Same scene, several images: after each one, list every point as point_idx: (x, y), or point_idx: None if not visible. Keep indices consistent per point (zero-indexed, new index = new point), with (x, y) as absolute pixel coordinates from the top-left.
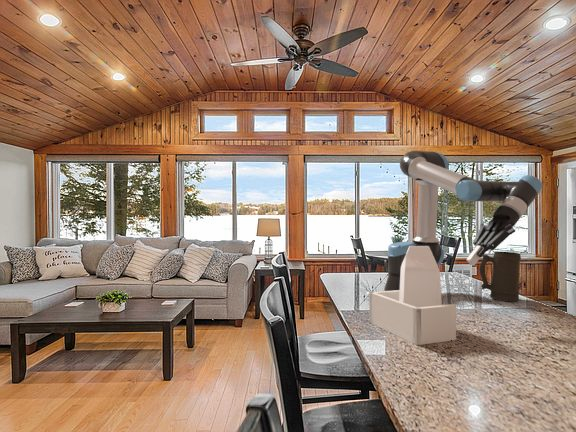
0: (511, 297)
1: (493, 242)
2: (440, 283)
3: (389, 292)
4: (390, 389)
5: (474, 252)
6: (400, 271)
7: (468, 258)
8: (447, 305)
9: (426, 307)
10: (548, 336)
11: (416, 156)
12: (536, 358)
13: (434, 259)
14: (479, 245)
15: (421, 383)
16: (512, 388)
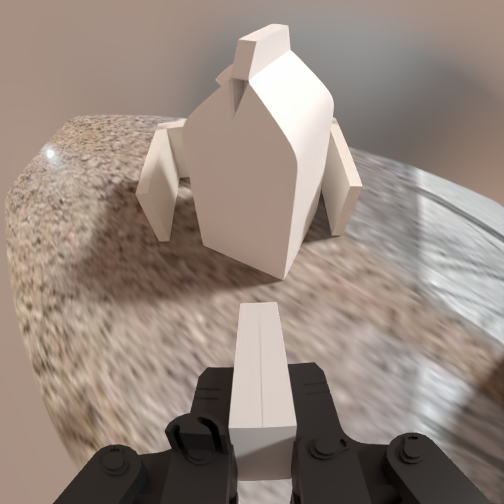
0: None
1: (73, 494)
2: (186, 155)
3: (336, 148)
4: (105, 118)
5: (250, 351)
6: (332, 110)
7: (264, 309)
8: (144, 177)
9: (156, 139)
10: (97, 444)
11: None
12: (45, 295)
13: (216, 90)
14: (296, 461)
15: (95, 137)
16: (38, 197)
